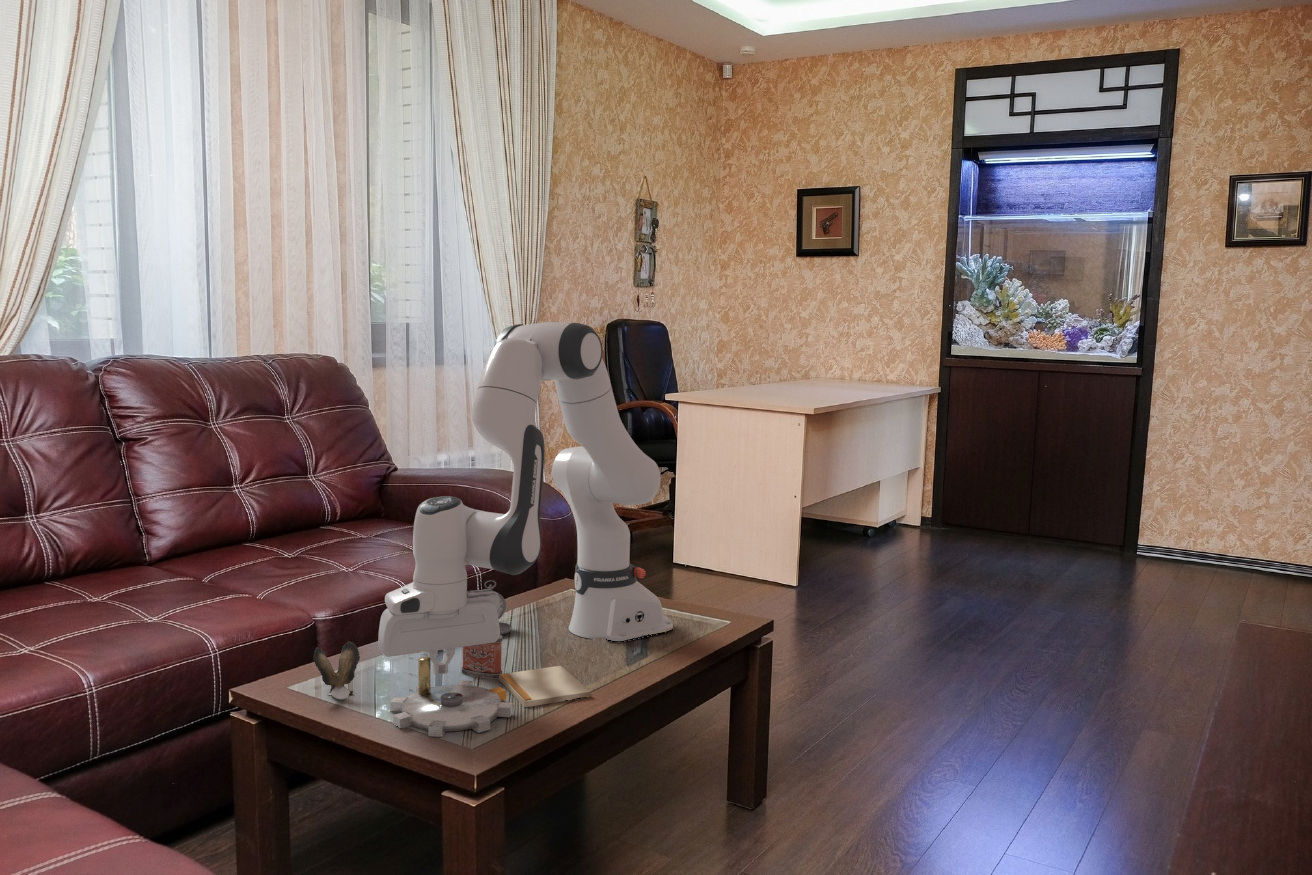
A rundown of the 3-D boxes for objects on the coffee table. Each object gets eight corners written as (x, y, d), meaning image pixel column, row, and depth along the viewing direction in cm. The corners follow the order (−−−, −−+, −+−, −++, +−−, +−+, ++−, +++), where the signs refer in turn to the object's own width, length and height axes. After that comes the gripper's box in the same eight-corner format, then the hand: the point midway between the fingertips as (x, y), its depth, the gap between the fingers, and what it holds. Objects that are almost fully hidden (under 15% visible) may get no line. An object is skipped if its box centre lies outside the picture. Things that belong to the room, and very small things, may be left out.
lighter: (505, 674, 187) (506, 621, 186) (496, 680, 184) (497, 626, 183) (467, 667, 190) (467, 616, 188) (457, 673, 186) (458, 621, 185)
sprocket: (453, 680, 182) (453, 639, 181) (537, 707, 171) (537, 664, 170) (363, 715, 165) (363, 670, 164) (450, 747, 154) (450, 699, 153)
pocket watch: (498, 638, 207) (498, 590, 206) (466, 631, 211) (466, 584, 210) (522, 628, 214) (522, 582, 213) (490, 621, 218) (491, 576, 217)
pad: (560, 670, 189) (560, 664, 189) (590, 696, 177) (590, 690, 177) (499, 679, 184) (499, 673, 184) (524, 707, 172) (524, 700, 172)
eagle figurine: (344, 686, 179) (343, 637, 178) (369, 696, 174) (369, 646, 173) (306, 699, 173) (305, 648, 172) (331, 709, 168) (330, 657, 167)
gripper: (493, 583, 178) (493, 658, 180) (375, 595, 168) (376, 675, 170) (505, 592, 172) (505, 670, 174) (383, 606, 163) (384, 688, 165)
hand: (440, 673), depth 172 cm, fingers closed
